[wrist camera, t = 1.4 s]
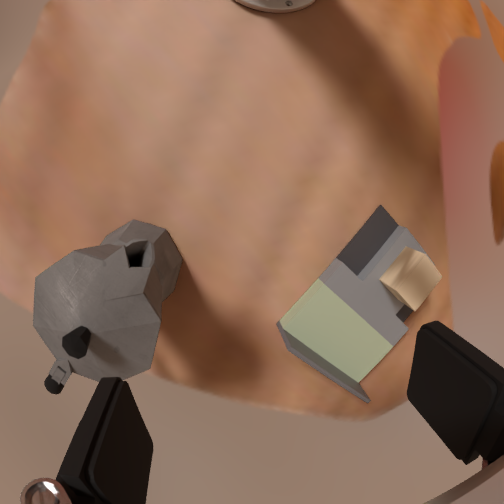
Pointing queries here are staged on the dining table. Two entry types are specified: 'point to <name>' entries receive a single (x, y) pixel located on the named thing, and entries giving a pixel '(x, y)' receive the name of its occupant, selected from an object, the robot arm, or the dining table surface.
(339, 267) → the multicoloured piece
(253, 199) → the dining table surface
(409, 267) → the maple block
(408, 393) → the robot arm
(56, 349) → the coffeepot
